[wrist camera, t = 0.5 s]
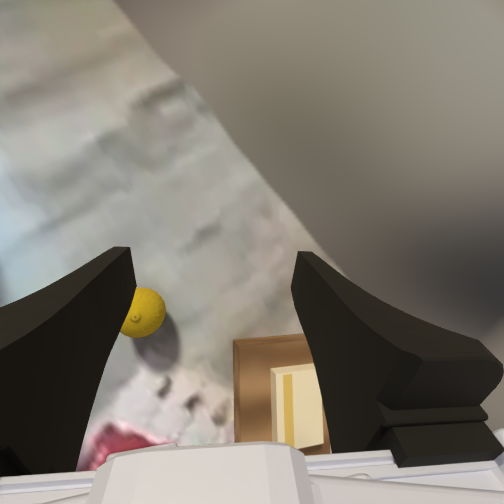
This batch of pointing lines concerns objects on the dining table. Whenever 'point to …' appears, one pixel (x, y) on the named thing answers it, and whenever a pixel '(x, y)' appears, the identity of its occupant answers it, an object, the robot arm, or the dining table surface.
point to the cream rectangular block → (296, 406)
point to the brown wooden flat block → (266, 385)
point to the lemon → (144, 314)
